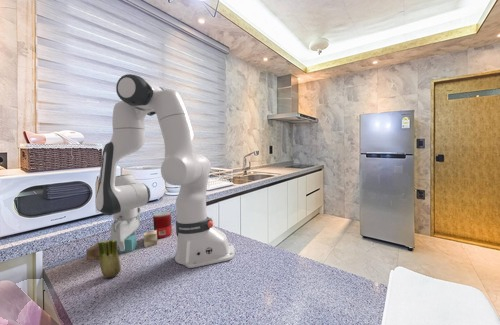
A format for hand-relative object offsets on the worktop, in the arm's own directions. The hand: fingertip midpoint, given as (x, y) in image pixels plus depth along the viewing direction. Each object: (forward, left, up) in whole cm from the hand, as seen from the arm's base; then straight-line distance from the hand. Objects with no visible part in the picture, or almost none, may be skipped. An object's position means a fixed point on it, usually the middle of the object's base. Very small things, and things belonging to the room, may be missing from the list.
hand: (127, 245), depth 93 cm
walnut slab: (+9, +3, -2) cm, 10 cm away
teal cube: (0, 0, -2) cm, 2 cm away
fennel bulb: (-3, +21, -2) cm, 21 cm away
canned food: (-11, -13, -2) cm, 17 cm away
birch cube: (-8, -4, -2) cm, 9 cm away
